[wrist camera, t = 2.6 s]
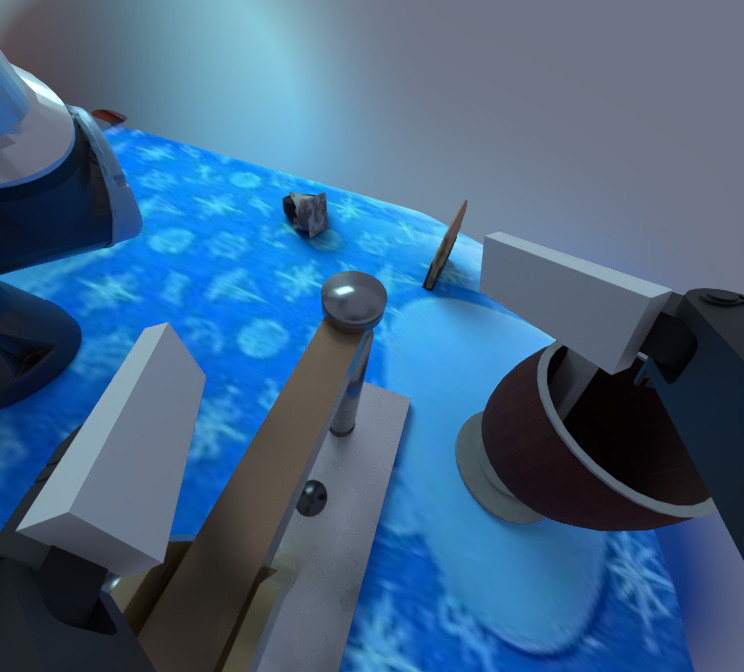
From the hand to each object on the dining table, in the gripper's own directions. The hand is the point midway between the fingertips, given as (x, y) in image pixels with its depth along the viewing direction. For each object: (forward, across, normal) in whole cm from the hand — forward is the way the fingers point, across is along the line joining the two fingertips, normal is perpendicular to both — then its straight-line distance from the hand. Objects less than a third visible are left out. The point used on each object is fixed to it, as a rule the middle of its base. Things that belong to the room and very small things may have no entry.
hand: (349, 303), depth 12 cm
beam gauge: (+5, -7, -24) cm, 25 cm away
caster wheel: (+51, +3, -7) cm, 52 cm away
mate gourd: (+4, +15, -28) cm, 32 cm away
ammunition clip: (+33, +23, -17) cm, 44 cm away
